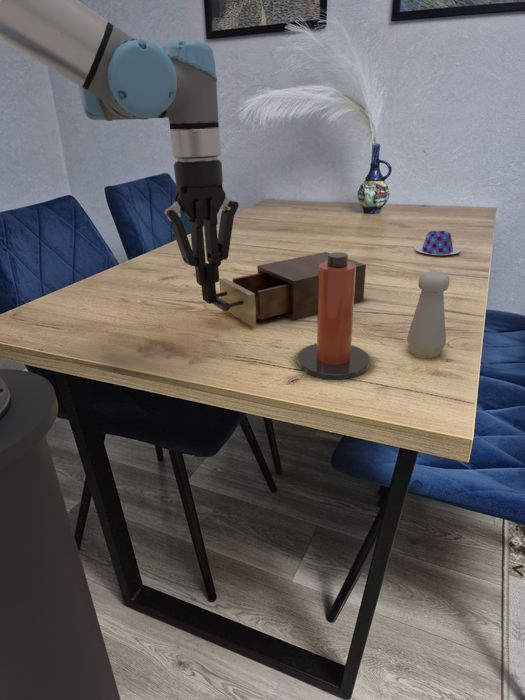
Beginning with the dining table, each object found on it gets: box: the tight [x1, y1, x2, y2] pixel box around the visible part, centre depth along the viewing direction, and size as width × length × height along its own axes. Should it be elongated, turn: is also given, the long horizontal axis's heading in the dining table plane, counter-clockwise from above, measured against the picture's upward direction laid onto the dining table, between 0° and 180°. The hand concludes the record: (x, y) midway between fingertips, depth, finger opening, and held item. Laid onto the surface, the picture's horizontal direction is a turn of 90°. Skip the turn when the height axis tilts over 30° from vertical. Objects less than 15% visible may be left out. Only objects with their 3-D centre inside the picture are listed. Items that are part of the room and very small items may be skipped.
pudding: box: [413, 230, 461, 257], centre depth 128 cm, size 12×12×5 cm
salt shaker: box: [406, 270, 450, 360], centre depth 72 cm, size 6×6×13 cm
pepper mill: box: [316, 251, 356, 365], centre depth 69 cm, size 5×5×16 cm
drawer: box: [211, 272, 291, 326], centre depth 90 cm, size 21×11×6 cm, turn 122°
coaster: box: [296, 343, 371, 380], centre depth 73 cm, size 11×11×1 cm
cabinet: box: [256, 251, 367, 321], centre depth 96 cm, size 18×13×8 cm
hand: (209, 300), depth 84 cm, fingers closed
